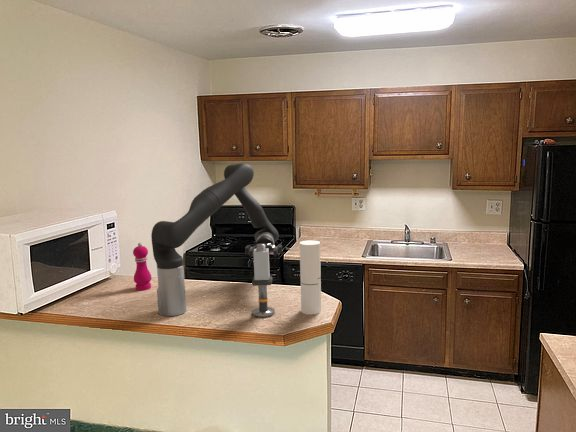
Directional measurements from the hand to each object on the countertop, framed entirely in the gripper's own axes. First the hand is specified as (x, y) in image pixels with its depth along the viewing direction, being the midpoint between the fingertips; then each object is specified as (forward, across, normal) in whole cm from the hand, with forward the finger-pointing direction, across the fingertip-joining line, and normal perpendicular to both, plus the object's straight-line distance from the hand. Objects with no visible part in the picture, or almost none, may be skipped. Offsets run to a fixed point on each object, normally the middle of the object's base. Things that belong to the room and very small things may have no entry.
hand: (263, 253), depth 168 cm
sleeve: (+11, 0, +6) cm, 13 cm away
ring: (+11, 0, +7) cm, 13 cm away
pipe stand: (+11, 0, +19) cm, 22 cm away
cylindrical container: (+10, +17, +19) cm, 28 cm away
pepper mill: (-22, -53, +19) cm, 60 cm away
